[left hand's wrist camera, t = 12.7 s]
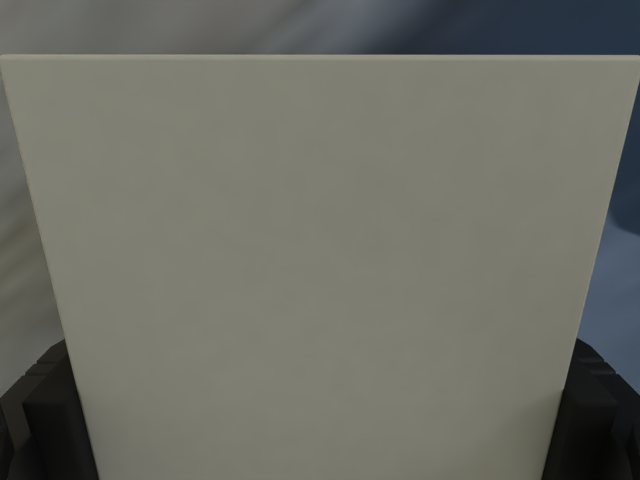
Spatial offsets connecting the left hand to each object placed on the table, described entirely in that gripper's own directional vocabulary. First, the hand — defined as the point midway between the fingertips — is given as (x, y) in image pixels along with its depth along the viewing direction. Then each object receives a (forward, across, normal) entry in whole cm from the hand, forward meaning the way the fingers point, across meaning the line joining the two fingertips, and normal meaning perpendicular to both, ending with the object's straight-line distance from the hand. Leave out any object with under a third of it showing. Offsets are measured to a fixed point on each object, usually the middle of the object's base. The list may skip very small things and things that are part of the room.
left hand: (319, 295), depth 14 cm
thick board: (+1, 0, -30) cm, 30 cm away
